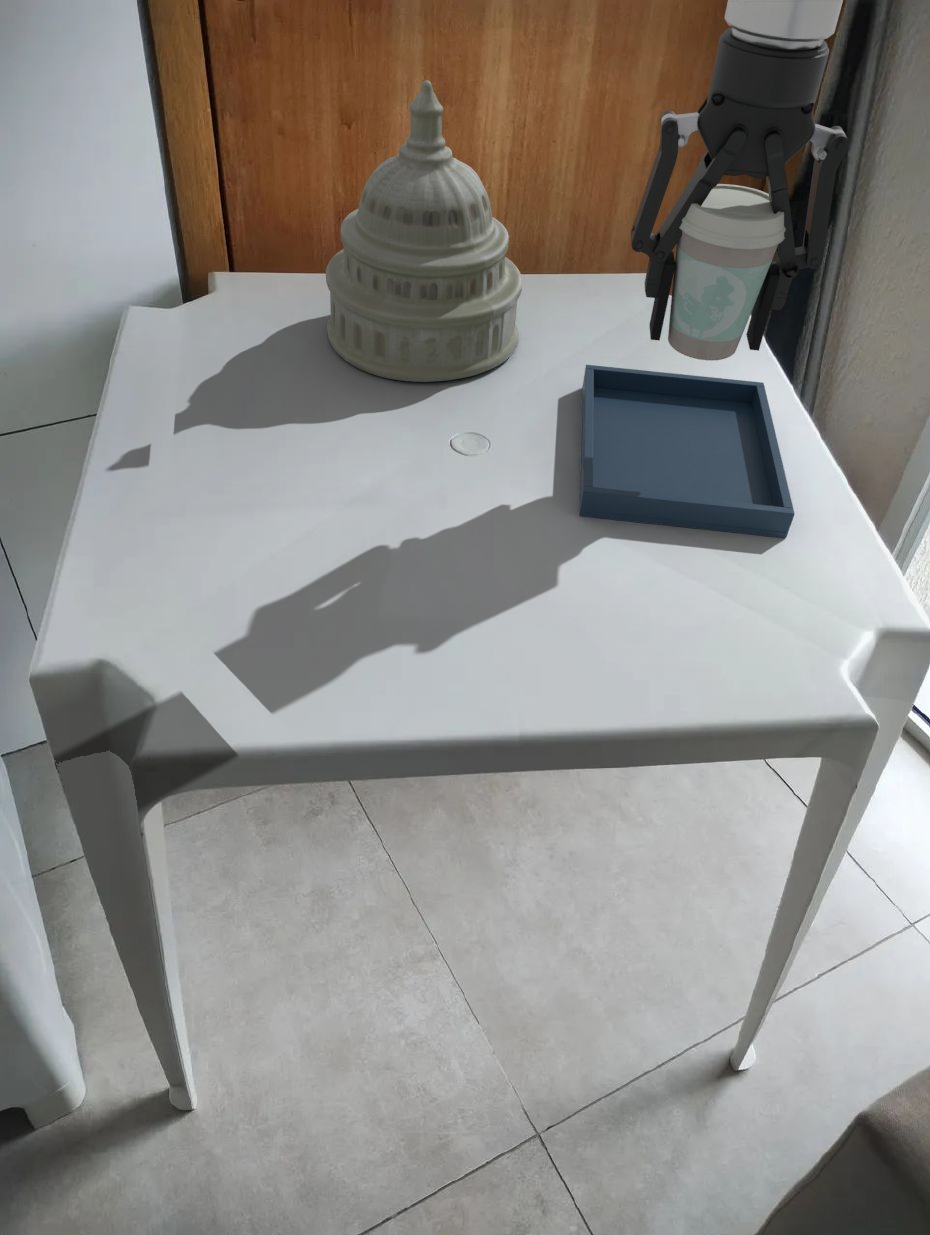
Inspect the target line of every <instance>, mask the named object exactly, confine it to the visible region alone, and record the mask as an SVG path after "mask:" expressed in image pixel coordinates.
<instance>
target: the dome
mask: <svg viewBox="0 0 930 1235" xmlns="http://www.w3.org/2000/svg"><path fill="white" fill-rule="evenodd" d="M408 109H409V112H410V133H409V135H408V136H407V138H406V142H405V143H403V144H402V145H400V147H399V152H398V154H396V155H394V156H391V157H390V158H387V159H386V160H384V161H383V162H382V163H380V164H379V165H378V166H377V167H376V168H375V169H374V171H373V172H372V173H371V174H370V176H369V177H368V179H367V181H366V183H365V185H364V187H363V189H362V192H361V195H360V199H359V201H358V202H359V203H358V207H357V208H356V209H354V210H353V211H352V212H350V213H349V214H348V215H346V216H345V217H344V219H343V221H341V225H340V240H341V244H342V245H343V248H342V249H340V250H339V251H338V252H336V253H335V254H334V255H333V256H332V257H331V259H330V260H329V262H328V263H327V266H326V268H325V282H326V286H327V288H328V290H329V293H330V294H329V295H330V296H329V297H330V299H329V300H330V316H329V318H328V319H327V323H326V333H327V338H328V341H329V344H330V345H331V347H332V349H333V350H334V352H335V353H336V354H337V355H338V356H339V357H341V359H342V360H344V361H345V362H347V363H348V364H350V365H351V366H353V367H355V368H357V369H359V370H361V371H363V372H366V373H368V374H371V375H373V376H377V377H381V378H384V379H389V380H396V381H403V382H415V383H416V382H417V383H433V382H444V381H454V380H459V379H465V378H468V377H469V378H470V377H473V376H478V375H479V374H482V373H484V372H488V371H489V370H492V369H494V368H496V367H498V366H500V365H502V364H504V362H506V361H507V360H508V359H509V358H510V357H511V356H512V355H513V354H514V353H515V352H516V349H517V347H518V344H519V330H518V327H517V324H516V322H517V310H518V300H519V298H520V297H521V294H522V292H523V276H522V274H521V271H520V270H519V269H518V267H517V265H516V264H515V263H514V262H513V261H512V260H511V259H509V258H508V257H506V255H507V253H508V250H509V242H510V241H509V240H510V234H509V232H508V230H507V228H506V227H505V225H504V224H503V223H502V222H500V221H499V220H498V219H496V217H494V216H493V211H492V207H491V202H490V198H489V195H488V192H487V190H486V188H485V186H484V184H483V182H482V180H481V179H480V176H479V175H478V173H477V172H476V171H475V170H474V169H473V167H471V166H470V165H468V164H467V163H465V162H463V161H460V160H459V159H458V158H456V157H453V151H452V149H451V148H450V147H449V146H446V140H445V138H444V137H443V113H444V106H443V105H442V104H441V103H440V101H439V100H438V97H437V95H436V94H435V91H434V88H433V84H432V82H431V81H430V80H424V81H423V82H422V83H421V87H420V90H419V92H418V94H416V97H415V98H414V100H412V101H411V102H410V103H409V106H408Z"/></svg>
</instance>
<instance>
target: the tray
mask: <svg viewBox="0 0 930 1235" xmlns="http://www.w3.org/2000/svg"><path fill="white" fill-rule="evenodd" d="M581 389H582V390H581V422H580V423H581V424H580V425H581V427H580V428H581V430H580V464H579V465H580V466H579V467H580V468H579V505H578V506H579V508H578V510H579V512H578V516H579V517H585V518H595V519H604V520H614V521H622V522H632V523H641V524H652V525H659V526H660V525H661V526H670V527H679V528H690V529H698V530H707V531H708V530H709V531H716V532H724V533H725V532H726V533H735V534H745V535H752V536H753V535H754V536H763V537H764V536H765V537H773V538H782V539H787V537H788V534H789V531H790V528H791V525H792V523H793V520H794V517H795V509H794V506H793V505H794V504H793V501H792V498H791V493H790V489H789V485H788V480H787V476H786V472H785V467H784V463H783V458H782V454H781V451H780V447H779V442H778V438H777V434H776V430H775V425H774V421H773V417H772V412H771V409H770V405H769V400H768V395H767V392H766V391H767V390H766V387H765V383H764V382H763V381H750V380H741V379H731V378H721V377H713V376H712V377H711V376H701V375H692V374H683V373H675V372H673V373H671V372H664V371H653V370H643V369H633V368H623V367H614V366H604V365H596V364H595V365H593V364H585V368H584V374H583V380H582V388H581Z"/></svg>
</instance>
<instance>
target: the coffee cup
mask: <svg viewBox="0 0 930 1235" xmlns="http://www.w3.org/2000/svg"><path fill="white" fill-rule="evenodd" d="M679 228H680V229H681V230H682V236H681V238H680V239H679V241H678V242H677V244H676V246H675V256H674V259H675V269H674V274H673V279H672V291H671V301H670V312H669V323H668V333H667V334H668V335H667V341H668V344H669V345H670V347H671V348H673V350H675V351H676V352H678V353H680V354H681V355H683V356H686V357H688V358H691V359H696V360H700V361H721V360H725V359H728V358H730V357H732V356H733V355H734V354H735V353H736V351H737V349H738V346H739V344H740V341H741V339H742V337H743V334H744V332H745V329H746V327H747V324H748V322H749V319H750V318H751V315H752V312H753V308H754V305H755V302H756V299H757V297H758V294H759V292H760V289H761V287H762V284H763V282H764V279H765V277H766V274H767V272H768V269H769V267H770V264H771V262H772V261H773V259H774V257H775V254H776V252H777V250H776V249H777V246H778V244H779V243H781V242H782V241H783V240H784V239H785V237H784V232H785V230H786V228H785V227H784V212H777V213H776V214H774V213H773V210H772V207H771V204H770V200H769V192H765V191H764V190H763V191H762V190H759V189H757V188H753V187H749V186H743V185H738V184H729V183H718V184H717V185H716V186H715V187H714V188H713V189H712V190H711V192H710V193H709V195H708V196H707V198H706V199H705V201H704V202H703V204H702V205H701V206H700V205H698V204H694V203H693V204H691V206H690V208H689V210H688V212H687V214H686V216H685V217H684V218H683V219H682V224H681V226H680V227H679Z"/></svg>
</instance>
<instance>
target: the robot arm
mask: <svg viewBox="0 0 930 1235" xmlns="http://www.w3.org/2000/svg"><path fill="white" fill-rule="evenodd" d="M843 2H844V0H727V3H726V8H725V13H724V18H723V19H724V21H725V22H726V24H727V25H728V26H729V28H727V29H725V30H724V32H723V33H722V34H720V36H719V40H718V45H717V50H716V54H715V59H714V64H713V69H712V74H711V79H710V84H709V89H708V93H707V95H706V97H705V100H704V102H702V104H701V105H700V107H699V108H698V110H697V111H696V112H687V113H678V114H676V112H674V111H673V110H669V109H668V110H665V111H663V112H662V113H661V115H660V118H659V135H660V136H659V138H660V139H659V146H658V149H657V152H656V156H655V158H654V160H653V164H652V167H651V169H650V173H649V175H648V179H647V181H646V185H645V189H644V190H643V193H642V197H641V200H640V203H639V206H638V209H637V212H636V215H635V218H634V221H633V225H632V227H631V231H630V243H631V249H632V250H633V251H634V252H637V253H643V254H644V255H646V256H648V261H647V262H648V264H647V268H646V273H645V279H644V294H645V297H646V298H649V299H650V298H651V299H654V300H653V304H652V309H651V315H650V320H649V336H650V337H649V338H650V341H660V340H661V336H662V331H663V327H664V321H665V318H666V312H667V307H668V303H669V297H670V291H671V287H672V285H673V278H674V269H675V253H674V251H673V250H674V249H675V248H676V246H677V242H678V241H679V239H680V238H681V236H682V230H681V229H680V228H679V227H680V226H681V224H682V219H683V218H684V217H685V216H686V214H687V212H688V210H689V208H690V206H691V204H693V203H694V204H698V205H700V206H701V205H702V204H703V202H704V201H705V199H706V198H707V196H708V195H709V193H710V192H711V190H712V189H713V188H714V187H715V186H716V185H717V184H720V181H721V180H722V178H723V177H724V176H730V177H737V176H744V175H746V176H748V177H751V178H754V179H761V180H766V184H767V193H768V194H769V200H770V204H771V207H772V210H773V213H774V214H776V213H777V212H784V227H785V228H786V230H785V232H784V237H785V239H784V240H783V241H782V242H781V243H779V244H778V246H777V249H776V256H777V259H776V261H773V260H772V262H771V264H770V267H769V269H768V272H767V274H766V277H765V279H764V282H763V284H762V287H761V289H760V292H759V294H758V297H757V299H756V302H755V304H754V307H753V309H752V312H751V315H750V318H749V319H750V320H749V323H748V327H747V331H746V334H745V335H746V339H747V343H748V348H749V350H750V351H757V352H758V351H760V349H761V344H762V341H763V337H764V333H765V330H766V327H767V324H768V319H769V317H770V313H771V310H773V311H781V310H782V309H783V307H784V306H785V305H786V301H787V298H788V294H789V290H790V288H791V284H792V280H793V279H794V278H796V277H797V276H798V274H799V271H800V270H804V269H808V268H809V269H810V270H815V269H818V268H820V267H821V266H822V264H823V261H824V254H825V247H826V240H827V235H828V234H827V233H828V228H829V221H830V215H831V208H832V203H833V202H832V201H833V197H834V196H833V195H834V189H835V183H836V175H837V170H838V169H839V166H840V164H841V162H842V161H843V158H844V156H845V154H846V152H847V151H848V149H849V146H850V140H849V139H848V136H847V135H846V133H845V132H844V130H843V127H841V126H839V125H834V126H832V127H827V126H824V125H821V124H818V123H816V121H815V117H814V109H815V104H816V101H817V98H818V94H819V90H820V88H821V87H820V86H821V83H822V80H823V76H824V72H825V69H826V64H827V61H828V57H829V54H830V48H829V46H828V43H827V42H826V41H825V40H826V39H828V38H830V37H831V36H833V35H834V34H835V32H836V28H837V25H838V21H839V17H840V13H841V10H842V5H843ZM697 131H698V133H699V134H700V138H701V139H702V141H703V143H704V146H705V148H706V151H705V153H704V154H703V156H702V158H701V159H700V161H699V163H698V165H697V168H696V170H695V171H694V173H693V175H692V176H691V178H690V180H689V181H688V183H687V185H686V186H685V187H684V189H683V191H682V192H681V194H680V195H679V197H678V199H677V200H676V202H675V203H674V205H673V207H672V208H671V209H670V211H669V213H668V215H667V216H666V217H665V219H664V221H663V223H662V224H661V226H660V227H659V228H658V230H657V232H656V234H655V233H653V230H654V227H655V224H656V220H657V218H658V215H659V212H660V209H661V206H662V203H663V200H664V197H665V194H666V192H667V189H668V186H669V182H670V180H671V178H672V175H673V172H674V169H675V166H676V163H677V159H678V155H679V154H678V153H679V148H683V147H685V146H686V145H688V143H689V141H690V136H691V135H692V134H693V133H694V132H697ZM809 142H810V143H811V149H810V150H811V154H812V156H813V158H814V161H813V168H812V174H811V180H810V189H809V197H808V205H807V211H806V217H805V224H804V233H803V240H802V246H798V247H796V244H795V238H794V230H793V229H794V228H793V221H792V213H791V206H790V199H789V198H790V197H789V190H788V188H789V187H788V186H789V185H788V177H787V176H788V175H787V169H786V164H787V163H788V162H789V161H790V160H791V159H792V158H793V157H794V156H796V154H797V153H798V152H800V150H801V149H802V148H803V147H804V146H805V145H806V144H808V143H809Z"/></svg>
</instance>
